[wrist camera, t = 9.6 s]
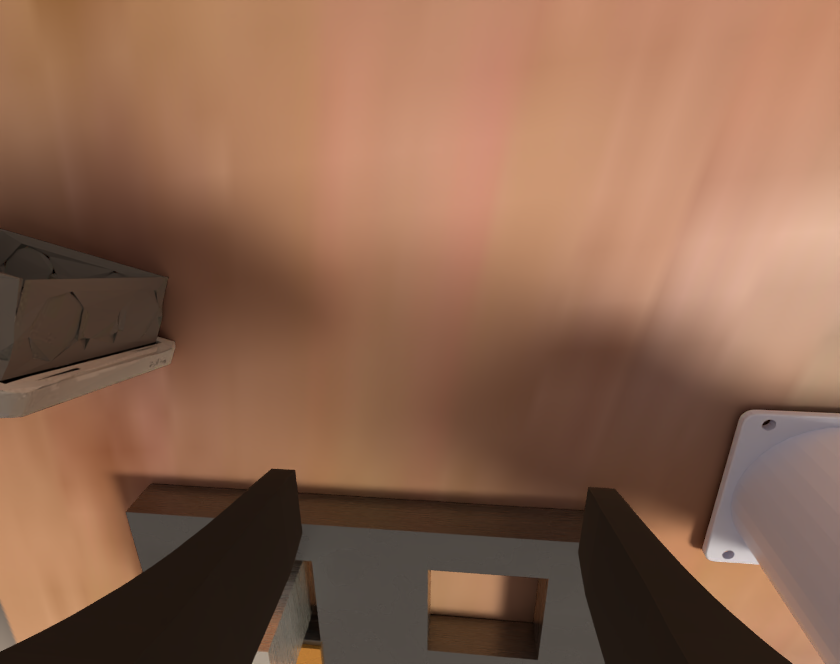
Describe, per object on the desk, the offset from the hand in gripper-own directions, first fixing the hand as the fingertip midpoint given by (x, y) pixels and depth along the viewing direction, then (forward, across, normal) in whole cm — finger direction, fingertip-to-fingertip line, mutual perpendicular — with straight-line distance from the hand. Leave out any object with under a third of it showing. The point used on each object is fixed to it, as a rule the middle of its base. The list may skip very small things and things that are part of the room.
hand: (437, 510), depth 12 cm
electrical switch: (+10, +16, -3) cm, 19 cm away
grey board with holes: (+9, +4, +13) cm, 16 cm away
